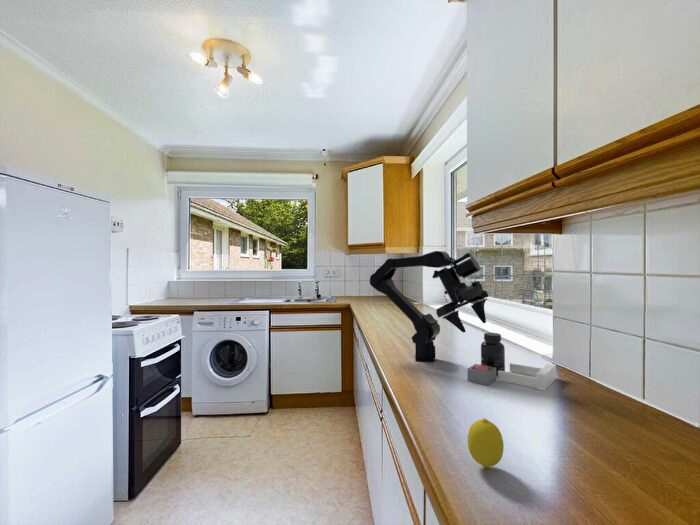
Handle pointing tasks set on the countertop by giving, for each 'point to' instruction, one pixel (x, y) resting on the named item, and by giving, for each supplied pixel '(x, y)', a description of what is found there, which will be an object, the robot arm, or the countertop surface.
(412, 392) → the countertop surface
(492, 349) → the supplement bottle
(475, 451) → the lemon
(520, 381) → the white u-shaped frame
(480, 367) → the plunger
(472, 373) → the plunger block
